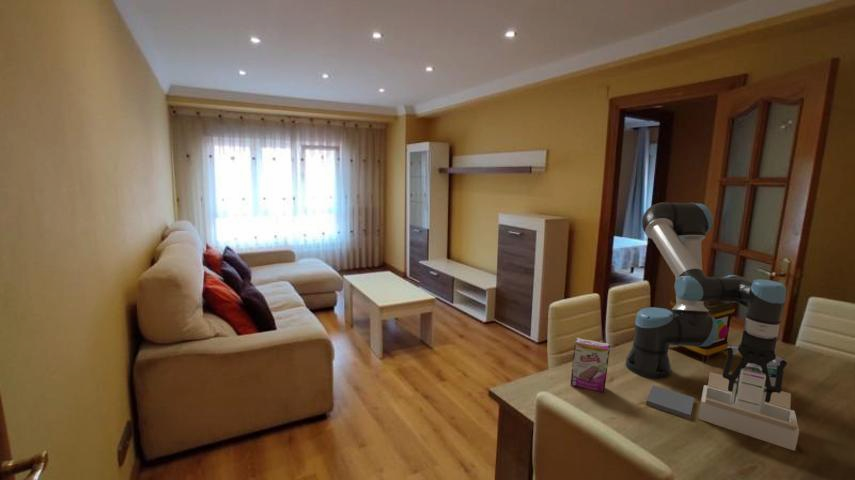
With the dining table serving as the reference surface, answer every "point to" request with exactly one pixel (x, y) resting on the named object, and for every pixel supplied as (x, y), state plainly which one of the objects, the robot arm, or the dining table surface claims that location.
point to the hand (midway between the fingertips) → (746, 405)
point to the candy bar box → (590, 364)
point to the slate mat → (670, 401)
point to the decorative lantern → (722, 317)
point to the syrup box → (750, 388)
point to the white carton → (750, 414)
